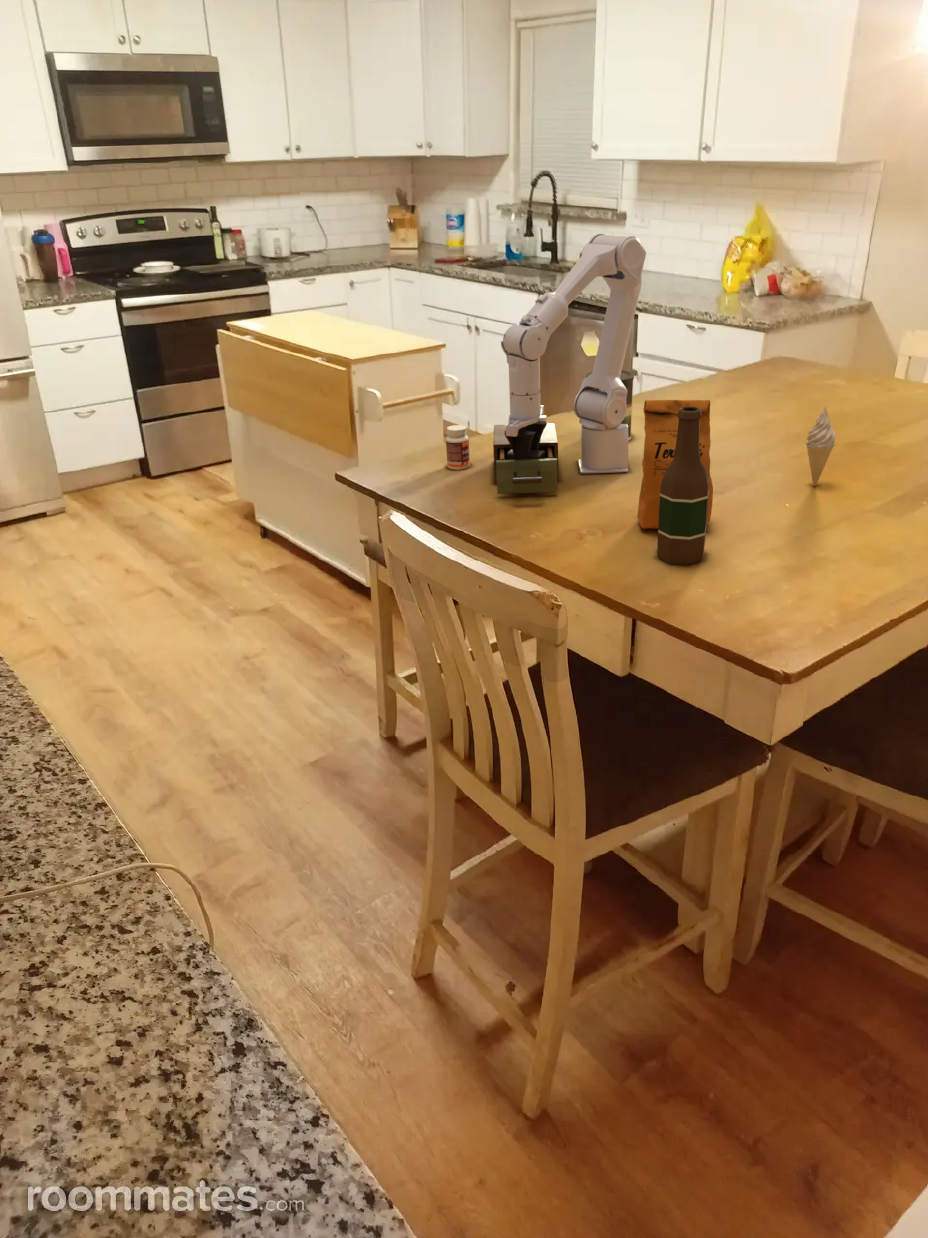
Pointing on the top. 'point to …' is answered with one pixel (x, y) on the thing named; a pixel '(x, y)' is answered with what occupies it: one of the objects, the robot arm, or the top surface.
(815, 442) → the ice cream cone
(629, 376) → the coffee can
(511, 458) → the dark brown box
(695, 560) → the beer bottle
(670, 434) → the coffee package
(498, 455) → the cabinet
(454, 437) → the pill bottle
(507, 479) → the drawer
